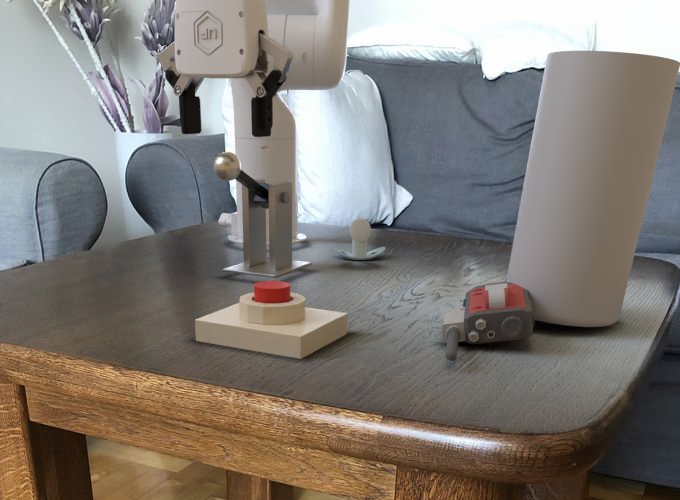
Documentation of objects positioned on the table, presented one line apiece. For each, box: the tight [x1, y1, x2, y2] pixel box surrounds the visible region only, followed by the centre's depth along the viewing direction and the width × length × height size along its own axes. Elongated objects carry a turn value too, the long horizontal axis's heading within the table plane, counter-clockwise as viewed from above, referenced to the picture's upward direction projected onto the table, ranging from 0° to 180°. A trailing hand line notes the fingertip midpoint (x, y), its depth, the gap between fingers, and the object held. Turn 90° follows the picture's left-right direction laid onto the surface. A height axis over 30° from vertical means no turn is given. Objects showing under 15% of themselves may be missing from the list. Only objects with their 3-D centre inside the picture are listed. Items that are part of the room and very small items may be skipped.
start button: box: [253, 280, 291, 304], centre depth 81 cm, size 4×4×2 cm
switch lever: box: [213, 151, 269, 209], centre depth 101 cm, size 13×3×3 cm, turn 152°
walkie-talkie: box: [441, 279, 535, 362], centre depth 81 cm, size 9×4×20 cm
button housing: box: [194, 291, 348, 360], centre depth 82 cm, size 12×10×4 cm
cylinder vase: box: [505, 50, 680, 328], centre depth 85 cm, size 12×12×25 cm
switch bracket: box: [222, 179, 312, 279], centre depth 108 cm, size 10×8×12 cm
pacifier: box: [333, 217, 386, 261], centre depth 115 cm, size 7×6×6 cm
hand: (225, 135), depth 95 cm, fingers open, 9 cm apart
